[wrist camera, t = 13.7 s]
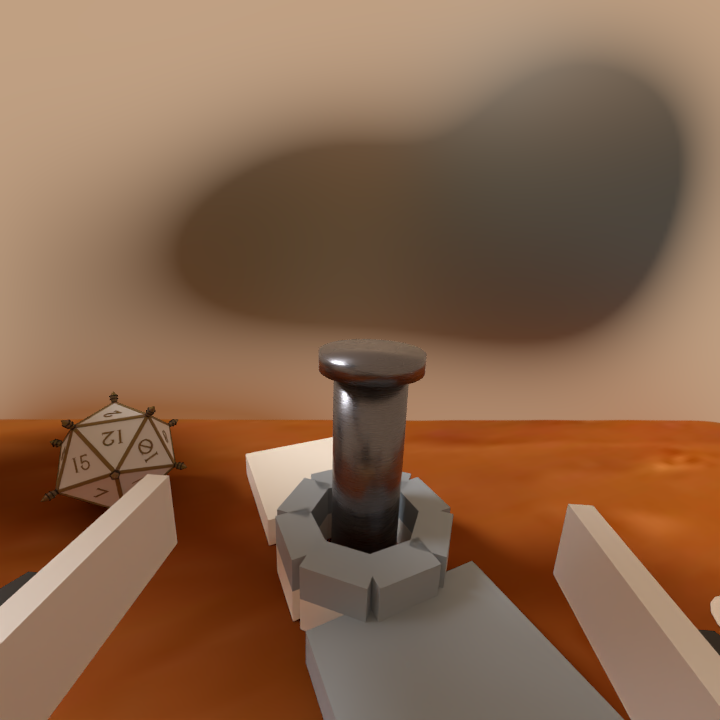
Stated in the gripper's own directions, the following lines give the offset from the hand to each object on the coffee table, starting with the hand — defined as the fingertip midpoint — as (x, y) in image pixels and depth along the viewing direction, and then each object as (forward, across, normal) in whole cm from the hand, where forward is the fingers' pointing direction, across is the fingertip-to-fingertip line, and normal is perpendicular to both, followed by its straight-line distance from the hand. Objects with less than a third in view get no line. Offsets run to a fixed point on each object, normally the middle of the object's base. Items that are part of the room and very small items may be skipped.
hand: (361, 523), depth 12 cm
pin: (+8, 0, -10) cm, 13 cm away
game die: (+13, -19, -10) cm, 25 cm away
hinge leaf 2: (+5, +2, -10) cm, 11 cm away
